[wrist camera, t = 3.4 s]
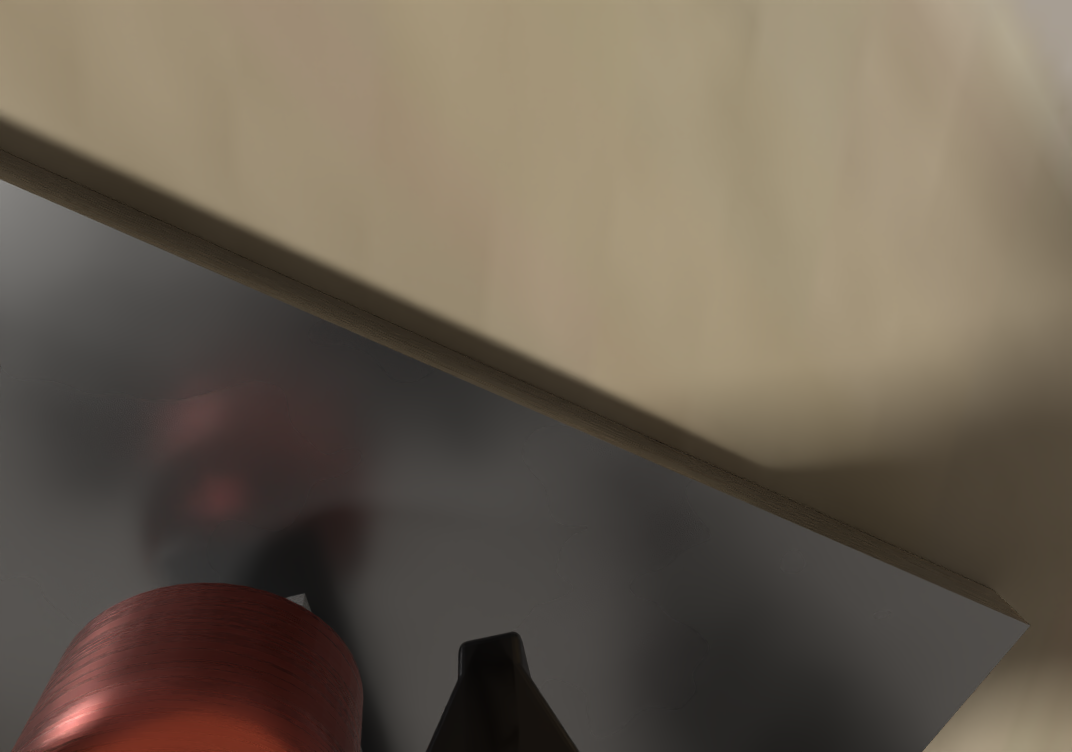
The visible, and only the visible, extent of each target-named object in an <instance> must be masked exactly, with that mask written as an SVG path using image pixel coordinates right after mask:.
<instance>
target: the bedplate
mask: <svg viewBox="0 0 1072 752" xmlns="http://www.w3.org/2000/svg"><path fill="white" fill-rule="evenodd" d="M189 583H227V584H234V585H241V586H248V587H252V588H256V589H260V590H264V591H267V592H270V593H273V594H276V595H278V596H281V597H284V598H286V597H291V596H295V595H299V594H303V593H305V595H306V598H307V601H308V604H309V606H310V609H311V612H312V613H313V614H315V615H316V616H318V617H319V618H320V619H322V620H323V621H324V622H325V623H326V624H327V625H329V626H330V627H331V628H332V629H333V630H334V631H335V632H336V633H337V635H338V636H339V637H340V638H341V639H342V640H343V641H344V643H345V644H346V646H347V648H348V649H349V651H350V652H351V654H352V655H353V658H354V660H355V662H356V665H357V667H358V669H359V673H360V677H361V681H362V688H363V712H362V729H361V749H362V752H426V750H427V748H428V745H429V743H430V741H431V738H432V736H433V734H434V732H435V729H436V727H437V725H438V723H439V720H440V718H441V716H442V714H443V711H444V709H445V707H446V705H447V702H448V700H449V698H450V696H451V693H452V691H453V689H454V687H455V684H456V682H457V680H458V650H459V648H460V645H461V644H462V643H463V642H466V641H470V640H474V639H479V638H484V637H489V636H493V635H498V634H503V633H507V632H517V633H518V634H519V635H520V636H521V639H522V642H523V646H524V650H525V654H526V658H527V663H528V667H529V671H530V675H531V679H532V680H533V682H534V683H535V685H536V686H537V688H538V689H539V691H540V692H541V694H542V695H543V697H544V698H545V700H546V701H547V703H548V704H549V706H550V707H551V709H552V710H553V712H554V713H555V715H556V717H557V718H558V720H559V721H560V723H561V724H562V726H563V727H564V729H565V730H566V732H567V733H568V735H569V736H570V738H571V739H572V741H573V742H574V744H575V745H576V747H577V748H578V750H579V751H580V752H922V751H923V750H924V749H925V748H926V747H927V745H928V744H929V743H930V742H931V741H932V740H933V738H934V737H935V736H936V735H937V734H938V733H939V731H940V730H941V729H942V728H943V727H944V726H945V724H946V723H947V722H948V721H949V720H950V719H951V717H952V716H953V715H954V714H955V713H956V712H957V710H958V709H959V708H960V707H961V706H962V705H963V703H964V702H965V701H966V700H967V699H968V698H969V696H970V695H971V694H972V693H973V692H974V691H975V689H976V688H977V687H978V686H979V685H980V684H981V682H982V681H983V680H984V679H985V678H986V677H987V675H988V674H989V673H990V672H991V671H992V670H993V668H994V667H995V666H996V665H997V664H998V663H999V661H1000V660H1001V659H1002V658H1003V657H1004V656H1005V654H1006V653H1007V652H1008V651H1009V650H1010V649H1011V647H1012V646H1013V645H1014V644H1015V643H1016V642H1017V640H1018V639H1019V638H1020V637H1021V636H1022V635H1023V633H1024V632H1025V631H1026V630H1027V629H1028V628H1029V626H1030V625H1029V624H1028V623H1027V622H1026V621H1025V620H1024V619H1023V618H1022V617H1021V616H1020V615H1019V614H1018V613H1017V612H1016V611H1015V610H1014V609H1013V608H1012V607H1011V606H1010V605H1009V604H1008V603H1006V602H1005V601H1004V600H1003V599H1002V598H1001V597H1000V596H999V595H998V594H997V593H996V592H995V591H994V590H992V589H990V588H987V587H985V586H983V585H981V584H978V583H976V582H974V581H972V580H969V579H967V578H965V577H963V576H960V575H958V574H956V573H954V572H951V571H949V570H947V569H945V568H942V567H940V566H938V565H936V564H933V563H931V562H929V561H926V560H924V559H922V558H920V557H917V556H915V555H913V554H911V553H908V552H906V551H904V550H902V549H899V548H897V547H895V546H893V545H890V544H888V543H886V542H884V541H881V540H879V539H877V538H875V537H872V536H870V535H868V534H866V533H863V532H861V531H859V530H857V529H854V528H852V527H850V526H848V525H845V524H843V523H841V522H839V521H836V520H834V519H832V518H830V517H827V516H825V515H823V514H820V513H818V512H816V511H814V510H811V509H809V508H807V507H805V506H802V505H800V504H798V503H796V502H793V501H791V500H789V499H787V498H784V497H782V496H780V495H778V494H775V493H773V492H771V491H769V490H766V489H764V488H762V487H760V486H757V485H755V484H753V483H751V482H748V481H746V480H744V479H742V478H739V477H737V476H735V475H733V474H730V473H728V472H726V471H724V470H721V469H719V468H717V467H714V466H712V465H710V464H708V463H705V462H703V461H701V460H699V459H696V458H694V457H692V456H690V455H687V454H685V453H683V452H681V451H678V450H676V449H674V448H672V447H669V446H667V445H665V444H663V443H660V442H658V441H656V440H654V439H651V438H649V437H647V436H645V435H642V434H640V433H638V432H636V431H633V430H631V429H629V428H627V427H624V426H622V425H620V424H618V423H615V422H613V421H611V420H608V419H606V418H604V417H602V416H599V415H597V414H595V413H593V412H590V411H588V410H586V409H584V408H581V407H579V406H577V405H575V404H572V403H570V402H568V401H566V400H563V399H561V398H559V397H557V396H554V395H552V394H550V393H548V392H545V391H543V390H541V389H539V388H536V387H534V386H532V385H530V384H527V383H525V382H523V381H521V380H518V379H516V378H514V377H512V376H509V375H507V374H505V373H502V372H500V371H498V370H496V369H493V368H491V367H489V366H487V365H484V364H482V363H480V362H478V361H475V360H473V359H471V358H469V357H466V356H464V355H462V354H460V353H457V352H455V351H453V350H451V349H448V348H446V347H444V346H442V345H439V344H437V343H435V342H433V341H430V340H428V339H426V338H424V337H421V336H419V335H417V334H415V333H412V332H410V331H408V330H406V329H403V328H401V327H399V326H396V325H394V324H392V323H390V322H387V321H385V320H383V319H381V318H378V317H376V316H374V315H372V314H369V313H367V312H365V311H363V310H360V309H358V308H356V307H354V306H351V305H349V304H347V303H345V302H342V301H340V300H338V299H336V298H333V297H331V296H329V295H327V294H324V293H322V292H320V291H318V290H315V289H313V288H311V287H309V286H306V285H304V284H302V283H300V282H297V281H295V280H293V279H290V278H288V277H286V276H284V275H281V274H279V273H277V272H275V271H272V270H270V269H268V268H266V267H263V266H261V265H259V264H257V263H254V262H252V261H250V260H248V259H245V258H243V257H241V256H239V255H236V254H234V253H232V252H230V251H227V250H225V249H223V248H221V247H218V246H216V245H214V244H212V243H209V242H207V241H205V240H203V239H200V238H198V237H196V236H194V235H191V234H189V233H187V232H184V231H182V230H180V229H178V228H175V227H173V226H171V225H169V224H166V223H164V222H162V221H160V220H157V219H155V218H153V217H151V216H148V215H146V214H144V213H142V212H139V211H137V210H135V209H133V208H130V207H128V206H126V205H124V204H121V203H119V202H117V201H115V200H112V199H110V198H108V197H106V196H103V195H101V194H99V193H97V192H94V191H92V190H90V189H88V188H85V187H83V186H81V185H78V184H76V183H74V182H72V181H69V180H67V179H65V178H63V177H60V176H58V175H56V174H54V173H51V172H49V171H47V170H45V169H42V168H40V167H38V166H36V165H33V164H31V163H29V162H27V161H24V160H22V159H20V158H18V157H15V156H13V155H11V154H9V153H6V152H4V151H2V150H0V752H11V751H12V749H13V748H14V746H15V744H16V742H17V740H18V738H19V736H20V734H21V732H22V731H23V729H24V727H25V725H26V723H27V721H28V719H29V717H30V716H31V714H32V712H33V710H34V708H35V706H36V704H37V702H38V701H39V699H40V697H41V695H42V693H43V691H44V689H45V687H46V685H47V684H48V682H49V680H50V678H51V676H52V674H53V672H54V670H55V669H56V667H57V665H58V663H59V661H60V659H61V657H62V655H63V654H64V652H65V650H66V648H67V647H68V646H69V644H70V643H71V641H72V640H73V639H74V637H75V636H76V635H77V634H78V633H79V632H80V631H81V630H82V629H83V628H84V627H85V626H86V625H87V624H88V623H89V622H90V621H92V620H93V619H94V618H96V617H97V616H98V615H99V614H101V613H102V612H103V611H105V610H107V609H109V608H110V607H112V606H114V605H116V604H117V603H119V602H121V601H123V600H126V599H128V598H131V597H133V596H135V595H138V594H140V593H144V592H147V591H151V590H154V589H158V588H162V587H167V586H173V585H179V584H189Z"/></svg>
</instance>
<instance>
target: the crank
mask: <svg viewBox="0 0 1072 752" xmlns="http://www.w3.org/2000/svg"><path fill="white" fill-rule="evenodd" d="M362 712H363V688H362V681H361V677H360V673H359V669H358V667H357V665H356V662H355V660H354V658H353V655H352V654H351V652H350V651H349V649H348V648H347V646H346V644H345V643H344V641H343V640H342V639H341V638H340V637H339V636H338V635H337V633H336V632H335V631H334V630H333V629H332V628H331V627H330V626H329V625H327V624H326V623H325V622H324V621H323V620H322V619H320V618H319V617H318V616H316V615H315V614H313V613H312V612H311V609H310V606H309V604H308V601H307V598H306V595H305V593H303V594H299V595H295V596H291V597H286V598H284V597H281V596H278V595H276V594H273V593H270V592H267V591H264V590H260V589H256V588H252V587H248V586H241V585H234V584H227V583H189V584H179V585H173V586H167V587H162V588H158V589H154V590H151V591H147V592H144V593H140V594H138V595H135V596H133V597H131V598H128V599H126V600H123V601H121V602H119V603H117V604H116V605H114V606H112V607H110V608H109V609H107V610H105V611H103V612H102V613H101V614H99V615H98V616H97V617H96V618H94V619H93V620H92V621H90V622H89V623H88V624H87V625H86V626H85V627H84V628H83V629H82V630H81V631H80V632H79V633H78V634H77V635H76V636H75V637H74V639H73V640H72V641H71V643H70V644H69V646H68V647H67V648H66V650H65V652H64V654H63V655H62V657H61V659H60V661H59V663H58V665H57V667H56V669H55V670H54V672H53V674H52V676H51V678H50V680H49V682H48V684H47V685H46V687H45V689H44V691H43V693H42V695H41V697H40V699H39V701H38V702H37V704H36V706H35V708H34V710H33V712H32V714H31V716H30V717H29V719H28V721H27V723H26V725H25V727H24V729H23V731H22V732H21V734H20V736H19V738H18V740H17V742H16V744H15V746H14V748H13V749H12V751H11V752H362V749H361V729H362Z"/></svg>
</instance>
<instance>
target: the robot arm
mask: <svg viewBox="0 0 1072 752" xmlns="http://www.w3.org/2000/svg"><path fill="white" fill-rule="evenodd" d="M426 752H580V751H579V750H578V748H577V747H576V745H575V744H574V742H573V741H572V739H571V738H570V736H569V735H568V733H567V732H566V730H565V729H564V727H563V726H562V724H561V723H560V721H559V720H558V718H557V717H556V715H555V713H554V712H553V710H552V709H551V707H550V706H549V704H548V703H547V701H546V700H545V698H544V697H543V695H542V694H541V692H540V691H539V689H538V688H537V686H536V685H535V683H534V682H533V680H532V679H531V675H530V671H529V667H528V663H527V658H526V654H525V650H524V646H523V642H522V639H521V636H520V635H519V634H518V633H517V632H507V633H503V634H498V635H493V636H489V637H484V638H479V639H474V640H470V641H466V642H463V643H462V644H461V645H460V648H459V650H458V680H457V682H456V684H455V687H454V689H453V691H452V693H451V696H450V698H449V700H448V702H447V705H446V707H445V709H444V711H443V714H442V716H441V718H440V720H439V723H438V725H437V727H436V729H435V732H434V734H433V736H432V738H431V741H430V743H429V745H428V748H427V750H426Z"/></svg>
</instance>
